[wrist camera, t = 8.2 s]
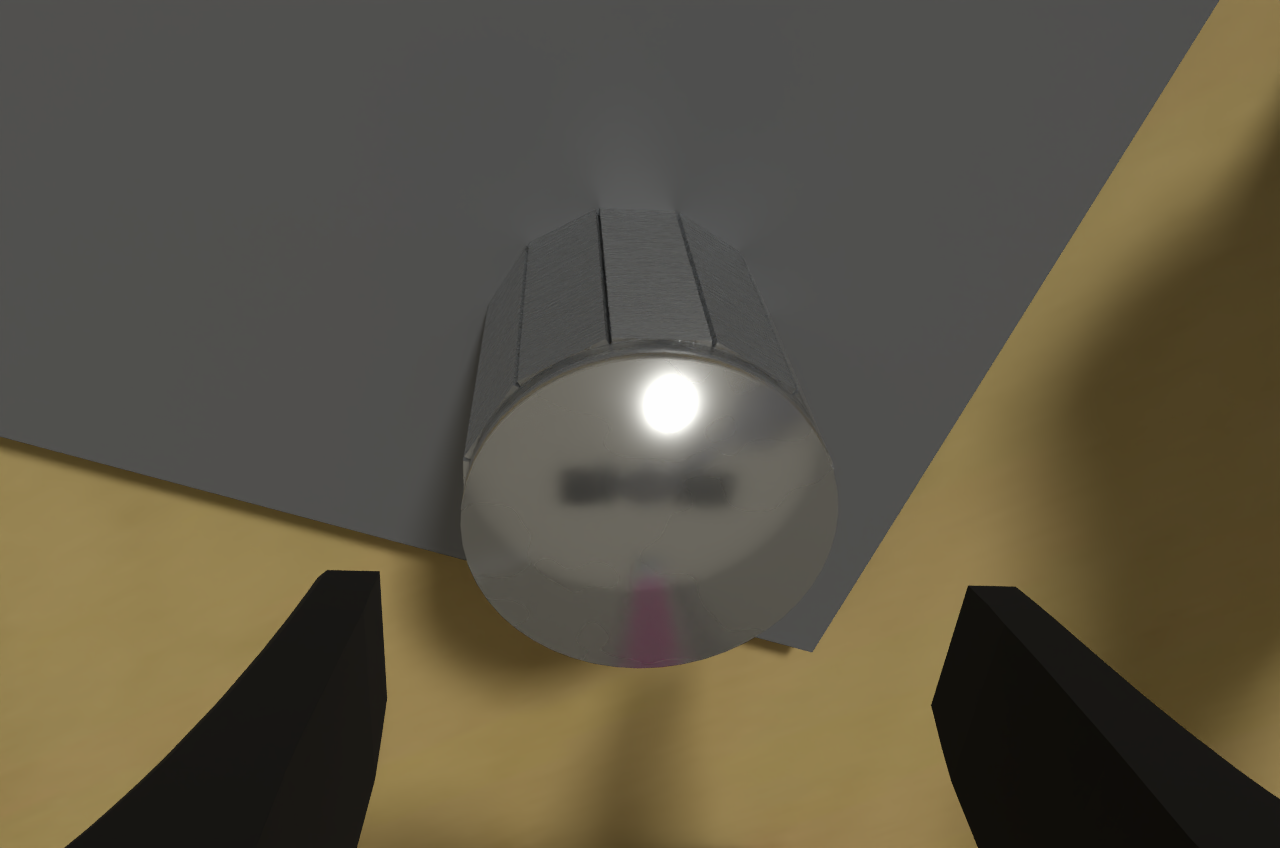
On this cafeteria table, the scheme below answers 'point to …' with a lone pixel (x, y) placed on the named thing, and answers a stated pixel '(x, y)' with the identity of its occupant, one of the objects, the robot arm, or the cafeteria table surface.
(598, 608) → the cylinder
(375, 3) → the base board
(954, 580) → the cafeteria table surface
